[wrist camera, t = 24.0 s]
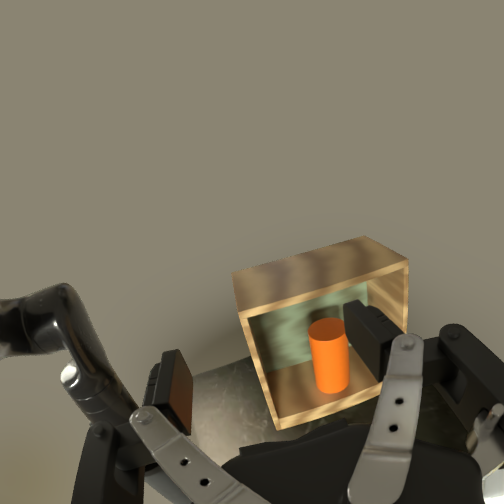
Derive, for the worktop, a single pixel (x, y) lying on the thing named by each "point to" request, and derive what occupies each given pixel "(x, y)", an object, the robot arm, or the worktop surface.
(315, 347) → the can
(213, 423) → the worktop surface
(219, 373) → the worktop surface
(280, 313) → the shelf unit
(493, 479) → the small box
